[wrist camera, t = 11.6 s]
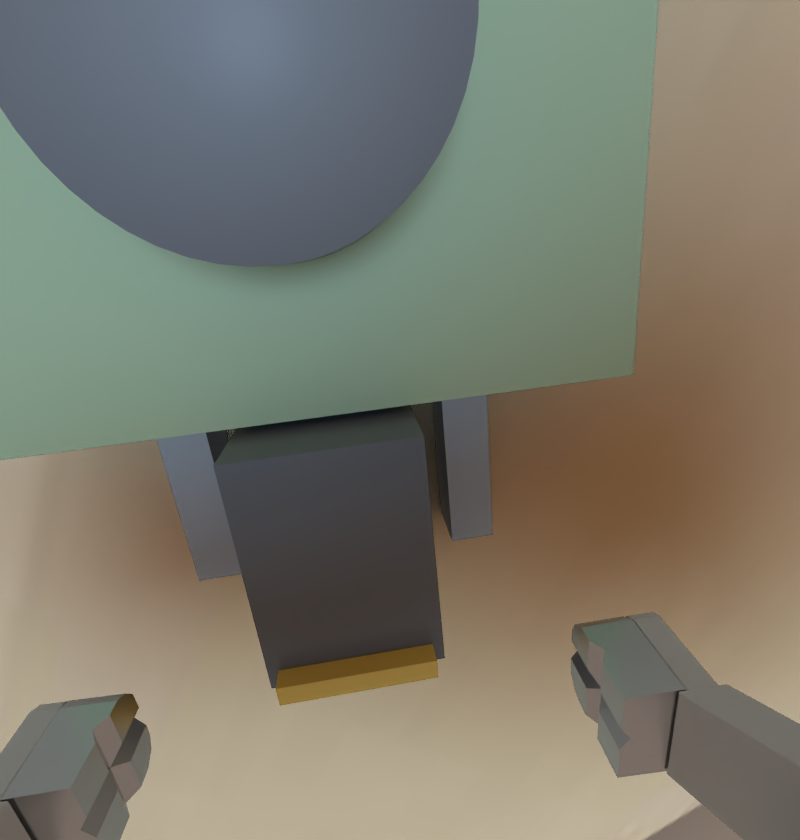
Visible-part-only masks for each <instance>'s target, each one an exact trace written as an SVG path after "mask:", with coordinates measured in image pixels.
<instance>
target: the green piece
mask: <svg viewBox="0 0 800 840" xmlns="http://www.w3.org/2000/svg"><path fill="white" fill-rule="evenodd" d="M658 2H659V0H0V460H5V459H13V458H20V457H27V456H35V455H42V454H50V453H57V452H65V451H72V450H80V449H87V448H94V447H102V446H109V445H117V444H124V443H132V442H139V441H146V440H154V439H157V443H158V446H159V449H160V453H161V456H162V459H163V462H164V466H165V469H166V472H167V476H168V479H169V482H170V486H171V489H172V492H173V496H174V499H175V502H176V505H177V509H178V512H179V515H180V519H181V522H182V525H183V529H184V532H185V535H186V539H187V542H188V545H189V548H190V552H191V555H192V558H193V562H194V565H195V568H196V572H197V575H198V578H199V581H200V580H206V579H213V578H219V577H225V576H232V575H238V574H242V573H241V569H240V566H239V562H238V558H237V554H236V550H235V547H234V543H233V539H232V535H231V531H230V528H229V524H228V520H227V516H226V513H225V509H224V505H223V501H222V497H221V494H220V490H219V486H218V482H217V478H216V475H215V471H214V467H213V466H214V464H215V462H216V461H217V459H218V457H219V456H220V454H221V453H222V451H223V449H224V448H225V446H226V445H227V443H228V437H227V433H226V430H228V429H236V428H243V427H251V426H258V425H265V424H273V423H280V422H288V421H295V420H303V419H310V418H318V417H325V416H332V415H340V414H347V413H355V412H362V411H370V410H377V409H384V408H392V407H399V406H407V405H414V404H422V403H429V402H432V405H433V417H434V429H435V441H436V453H437V465H438V477H439V489H440V501H441V512H442V515H443V518H444V520H445V523H446V526H447V528H448V531H449V533H450V536H451V539H452V541H455V540H461V539H467V538H474V537H480V536H487V535H493V530H492V506H491V482H490V459H489V435H488V411H487V395H489V394H496V393H504V392H511V391H518V390H526V389H533V388H541V387H548V386H556V385H563V384H570V383H578V382H585V381H593V380H600V379H608V378H615V377H623V376H630V375H633V371H634V357H635V342H636V327H637V312H638V297H639V283H640V268H641V253H642V238H643V224H644V209H645V194H646V179H647V165H648V150H649V135H650V120H651V106H652V91H653V76H654V61H655V46H656V32H657V17H658Z"/></svg>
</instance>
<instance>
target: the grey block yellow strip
mask: <svg viewBox="0 0 800 840" xmlns="http://www.w3.org/2000/svg"><path fill="white" fill-rule="evenodd" d="M213 467H214V471H215V475H216V478H217V482H218V486H219V490H220V494H221V497H222V501H223V505H224V509H225V513H226V516H227V520H228V524H229V528H230V531H231V535H232V539H233V543H234V547H235V550H236V554H237V558H238V562H239V566H240V569H241V573H242V577H243V581H244V584H245V588H246V592H247V596H248V600H249V603H250V607H251V611H252V615H253V619H254V622H255V626H256V630H257V634H258V638H259V641H260V645H261V649H262V653H263V656H264V660H265V664H266V668H267V672H268V675H269V679H270V683H271V687H272V688H276V692H277V696H278V700H279V704H280V705H285V704H291V703H297V702H302V701H308V700H313V699H319V698H325V697H330V696H336V695H341V694H347V693H352V692H358V691H364V690H369V689H375V688H380V687H386V686H392V685H397V684H403V683H408V682H414V681H419V680H425V679H431V678H436V677H438V667H437V659H442V658H445V656H444V645H443V634H442V623H441V613H440V602H439V591H438V580H437V569H436V558H435V548H434V537H433V526H432V515H431V504H430V494H429V483H428V472H427V461H426V450H425V439H424V435H423V433H422V430H421V428H420V426H419V424H418V422H417V419H416V417H415V415H414V413H413V411H412V408H411V406H410V405H407V406H399V407H392V408H384V409H377V410H370V411H362V412H355V413H347V414H340V415H332V416H325V417H318V418H310V419H303V420H295V421H288V422H280V423H273V424H265V425H258V426H251V427H243V428H236V430H235V432H234V433H233V435H232V437H231V438H230V440H229V441H228V443H227V445H226V446H225V448H224V449H223V451H222V453H221V454H220V456H219V457H218V459H217V461H216V462H215V464H214V466H213Z"/></svg>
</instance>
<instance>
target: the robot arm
mask: <svg viewBox="0 0 800 840" xmlns="http://www.w3.org/2000/svg"><path fill="white" fill-rule="evenodd" d="M572 642H573V644H574V646H575V647H576V649H577V652H576V653H575V654H574V656H573V657H572V658H571V674H572V679H573V684H574V689H575V691H576V694H577V697H578V700H579V702H580V704H581V706H582V708H583V710H584V712H585V714H586V715H587V716H588V717H590V718H591V719H593V720H594V721H595V722H597V723H598V740H599V742H600V744H601V746H602V748H603V750H604V752H605V754H606V756H607V758H608V760H609V762H610V764H611V766H612V768H613V770H614V772H615V774H616V776H617V778H618V777H625V776H633V775H640V774H647V773H655V772H662V771H667V774H668V775H669V776H670V777H671V778H672V779H674V780H675V781H676V782H677V783H678V784H679V785H681V786H682V787H683V788H684V789H685V790H686V791H687V792H689V793H690V794H691V795H692V796H693V797H694V798H696V799H697V800H698V801H699V802H700V803H701V804H703V805H704V806H705V807H706V808H707V809H708V810H710V811H711V812H712V813H713V814H714V815H715V816H717V817H718V818H719V819H720V820H721V821H722V822H724V823H725V824H726V825H727V826H728V827H729V828H730V829H732V830H733V831H734V832H735V833H736V834H737V835H739V836H740V837H741V838H742V839H743V840H800V724H799V723H797V722H795V721H793V720H791V719H789V718H788V717H786V716H784V715H782V714H780V713H778V712H777V711H775V710H773V709H771V708H769V707H767V706H766V705H764V704H762V703H760V702H758V701H756V700H755V699H753V698H751V697H749V696H747V695H745V694H744V693H742V692H740V691H738V690H736V689H734V688H733V687H731V686H729V685H718V684H717V683H716V682H715V681H714V680H713V678H712V677H711V676H710V675H709V674H708V672H707V671H706V670H705V669H704V668H703V667H702V665H701V664H700V663H699V662H698V661H697V660H696V658H695V657H694V656H693V655H692V654H691V652H690V651H689V650H688V649H687V648H686V647H685V645H684V644H683V643H682V642H681V641H680V640H679V638H678V637H677V636H676V635H675V634H674V632H673V631H672V630H671V629H670V628H669V627H668V625H667V624H666V623H665V622H664V621H663V620H662V618H661V617H660V616H659V615H657V614H656V613H654V612H650V613H643V614H637V615H631V616H626V617H617V618H611V619H605V620H599V621H593V622H587V623H581V624H575V625H574V627H573V630H572ZM138 708H139V707H138V705H137V703H136V700H135V698H134V696H133V694H118V695H110V696H103V697H95V698H87V699H79V700H71V701H66V702H59V703H51V704H43V705H39V706H38V707H37V708H35V709H34V710H33V711H31V712H30V713H29V714H28V716H27V717H26V718H25V720H24V721H23V723H22V724H21V725H20V727H19V728H18V730H17V731H16V732H15V734H14V735H13V737H12V738H11V740H10V741H9V742H8V744H7V745H6V747H5V748H4V749H3V751H2V752H1V754H0V840H120V839H121V836H122V834H123V831H124V829H125V826H126V824H127V821H128V819H129V812H128V808H127V804H126V802H127V801H128V800H129V799H130V798H131V797H132V796H133V795H134V794H135V793H136V792H137V791H138V789H139V788H140V787H141V786H142V783H143V781H144V778H145V775H146V773H147V770H148V766H149V760H150V754H151V741H150V734H149V731H148V729H147V726H146V725H145V724H144V723H142V722H140V721H139V720H137V719H135V718H134V716H135V714H136V712H137V710H138Z"/></svg>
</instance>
